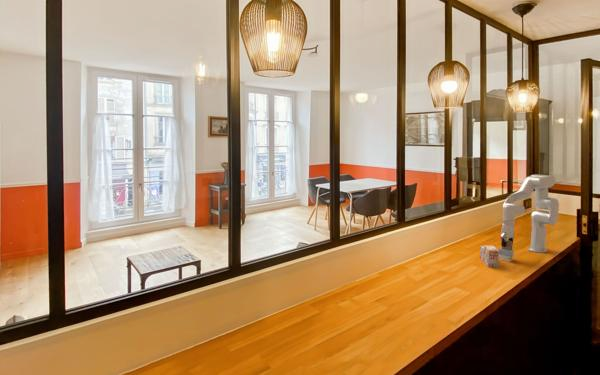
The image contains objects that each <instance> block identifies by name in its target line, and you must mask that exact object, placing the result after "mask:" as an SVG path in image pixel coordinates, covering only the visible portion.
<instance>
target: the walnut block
mask: <svg viewBox="0 0 600 375" xmlns="http://www.w3.org/2000/svg"><path fill="white" fill-rule="evenodd" d="M513 245H514V240H513V241H509V240H508V239H507V240H506V247H503V246H501V248H502V249H503V250H508V251H509V250H512V249H513Z"/></svg>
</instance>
